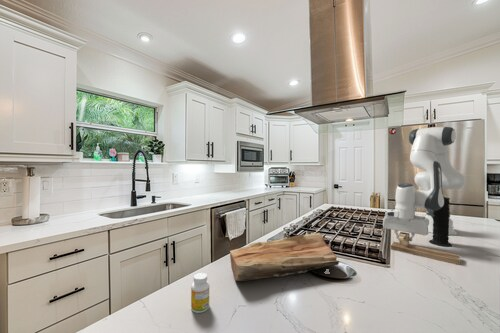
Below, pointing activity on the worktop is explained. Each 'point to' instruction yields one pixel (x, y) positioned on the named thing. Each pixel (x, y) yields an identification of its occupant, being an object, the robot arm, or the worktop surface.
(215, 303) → the worktop surface
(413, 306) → the worktop surface
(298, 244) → the log
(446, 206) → the handle grip
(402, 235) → the beige mallet
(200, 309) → the supplement bottle
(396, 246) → the board
